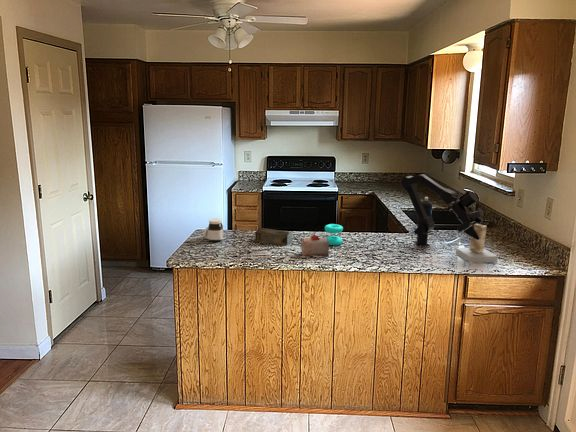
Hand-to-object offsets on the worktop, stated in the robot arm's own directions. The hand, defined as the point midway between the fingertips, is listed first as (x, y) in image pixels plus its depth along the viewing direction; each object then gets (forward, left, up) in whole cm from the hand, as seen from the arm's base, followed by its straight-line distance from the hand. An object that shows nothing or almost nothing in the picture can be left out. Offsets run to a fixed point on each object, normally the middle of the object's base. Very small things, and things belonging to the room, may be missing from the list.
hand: (480, 238), depth 228 cm
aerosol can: (-55, -4, -11) cm, 56 cm away
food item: (-15, -81, -11) cm, 83 cm away
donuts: (-32, -67, -11) cm, 75 cm away
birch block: (-1, -1, -7) cm, 7 cm away
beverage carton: (-39, -99, -11) cm, 107 cm away
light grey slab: (-1, -1, -10) cm, 11 cm away
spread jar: (-45, -132, -11) cm, 140 cm away
